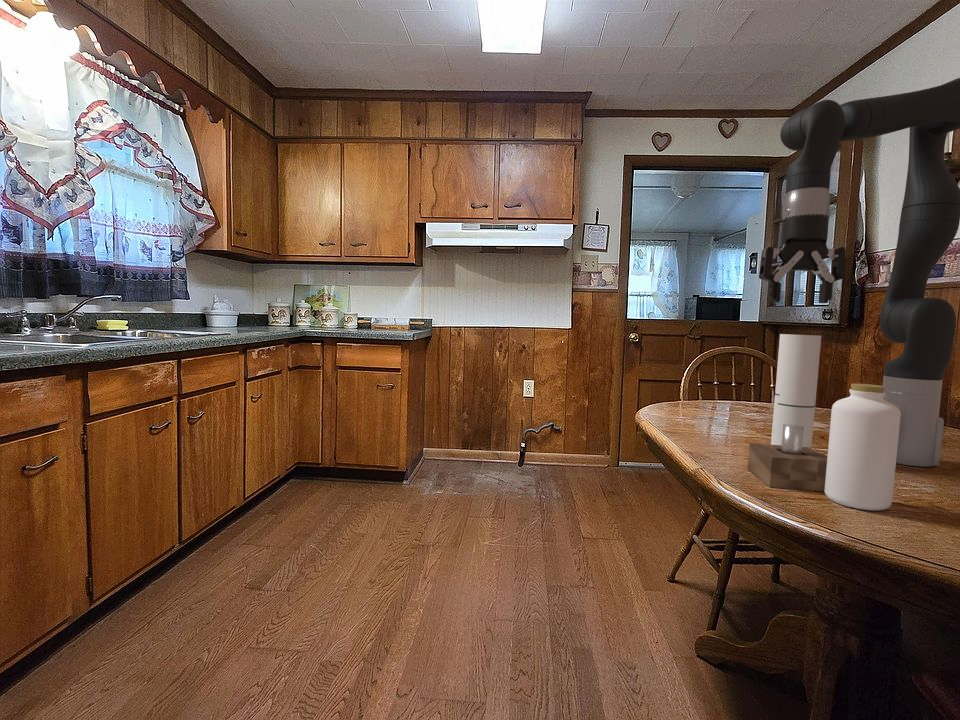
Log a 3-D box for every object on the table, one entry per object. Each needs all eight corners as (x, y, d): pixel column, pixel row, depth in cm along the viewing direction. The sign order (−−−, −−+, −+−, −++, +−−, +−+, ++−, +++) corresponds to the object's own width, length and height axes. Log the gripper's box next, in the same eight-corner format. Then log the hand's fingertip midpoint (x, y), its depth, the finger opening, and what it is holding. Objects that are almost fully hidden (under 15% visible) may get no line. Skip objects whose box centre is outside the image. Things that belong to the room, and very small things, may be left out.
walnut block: (806, 474, 94) (808, 447, 93) (835, 492, 84) (838, 461, 83) (747, 470, 95) (749, 443, 95) (769, 487, 85) (772, 457, 85)
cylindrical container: (799, 453, 110) (809, 335, 108) (817, 462, 103) (829, 336, 101) (764, 450, 111) (773, 333, 109) (779, 459, 104) (790, 334, 102)
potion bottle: (895, 517, 73) (908, 390, 72) (824, 504, 78) (835, 384, 76) (887, 501, 80) (899, 385, 79) (823, 490, 85) (832, 380, 83)
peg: (794, 470, 91) (798, 424, 90) (802, 475, 88) (807, 428, 87) (776, 468, 91) (780, 423, 90) (783, 473, 88) (787, 427, 87)
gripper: (835, 220, 101) (828, 304, 102) (757, 220, 103) (752, 302, 104) (857, 212, 94) (850, 302, 95) (773, 212, 95) (767, 301, 97)
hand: (799, 302), depth 99 cm, fingers open, 8 cm apart
